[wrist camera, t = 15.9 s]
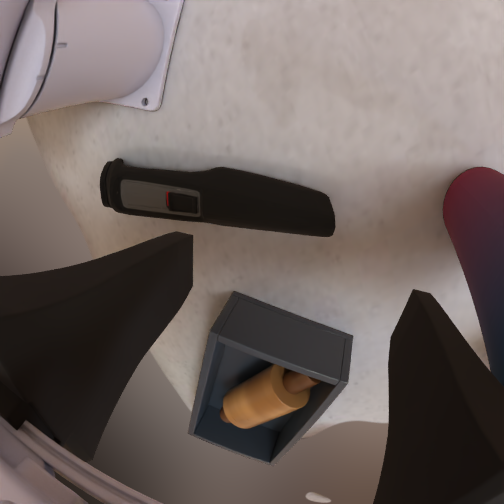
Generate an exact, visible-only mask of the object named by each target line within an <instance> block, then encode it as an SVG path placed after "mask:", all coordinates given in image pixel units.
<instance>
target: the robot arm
mask: <svg viewBox="0 0 504 504" xmlns="http://www.w3.org/2000/svg"><path fill="white" fill-rule="evenodd" d="M183 2H184V0H168V1H167V0H0V138H1V137H4V136H7V135H10V134H11V133H12V130H13V126H14V124H15V122H16V121H17V120H18V119H21V118H24V117H28V116H32V115H36V114H40V113H44V112H48V111H52V110H56V109H60V108H65V107H70V106H74V105H79V104H84V103H90V102H95V101H100V102H106V103H112V104H117V105H123V106H128V107H133V108H139V109H144V110H148V111H155V110H157V109H159V108H160V105H161V101H162V95H163V90H164V85H165V79H166V74H167V69H168V65H169V60H170V55H171V51H172V46H173V42H174V38H175V33H176V29H177V25H178V21H179V17H180V13H181V9H182V6H183ZM146 99H147V100H148V105H146V104H145V100H146ZM192 287H193V235H190V234H185V233H181V232H177V231H176V232H172V233H169V234H165V235H162V236H159V237H157V238H154V239H151V240H148V241H146V242H143V243H140V244H138V245H135V246H132V247H130V248H127V249H124V250H121V251H118V252H115V253H112V254H110V255H107V256H104V257H101V258H98V259H95V260H91V261H88V262H85V263H81V264H77V265H73V266H69V267H65V268H60V269H54V270H50V271H44V272H38V273H31V274H23V275H12V276H0V504H88V503H87V502H85V501H84V500H83V499H82V498H81V497H79V496H78V495H77V494H76V493H75V492H73V491H72V490H70V489H69V488H68V487H66V486H65V485H63V484H62V483H61V482H59V481H58V480H56V479H55V473H54V471H56V472H57V473H58V474H60V475H61V476H63V477H64V478H65V479H67V480H68V481H70V482H71V483H73V484H74V485H76V486H77V487H79V488H80V489H82V490H84V491H85V492H86V493H88V494H90V495H91V496H93V497H95V498H96V499H98V500H100V501H101V502H103V503H105V504H163V503H160V502H158V501H156V500H154V499H152V498H149V497H147V496H145V495H143V494H141V493H139V492H137V491H135V490H133V489H131V488H129V487H127V486H125V485H123V484H122V483H120V482H118V481H116V480H114V479H112V478H111V477H109V476H107V475H105V474H104V473H102V472H100V471H98V470H97V469H95V468H94V467H92V466H90V465H89V464H87V463H85V462H87V461H91V460H93V457H94V454H95V451H96V449H97V446H98V444H99V441H100V439H101V436H102V434H103V432H104V429H105V427H106V425H107V423H108V420H109V418H110V416H111V414H112V412H113V410H114V408H115V406H116V404H117V402H118V400H119V398H120V396H121V394H122V392H123V390H124V388H125V387H126V385H127V383H128V381H129V379H130V378H131V376H132V374H133V373H134V371H135V369H136V368H137V366H138V364H139V363H140V361H141V360H142V358H143V357H144V355H145V354H146V353H147V351H148V350H149V349H150V347H151V346H152V345H153V343H154V342H155V341H156V340H157V338H158V337H159V336H160V334H161V333H162V332H163V331H164V329H165V328H166V327H167V325H168V324H169V323H170V321H171V320H172V319H173V317H174V316H175V315H176V314H177V312H178V311H179V309H180V308H181V306H182V305H183V303H184V301H185V299H186V298H187V296H188V294H189V292H190V290H191V288H192ZM388 374H389V427H388V438H387V444H386V451H385V456H384V462H383V467H382V471H381V476H380V480H379V484H378V489H377V492H376V496H375V499H374V502H373V504H504V386H503V385H502V384H501V383H500V382H499V381H498V380H497V378H496V377H495V376H494V375H493V374H492V373H491V372H490V371H489V369H488V368H487V367H486V366H485V365H484V363H483V362H482V361H481V360H480V358H479V357H478V356H477V354H476V353H475V352H474V350H473V349H472V348H471V347H470V345H469V344H468V343H467V341H466V340H465V339H464V337H463V336H462V334H461V333H460V332H459V330H458V329H457V328H456V326H455V325H454V323H453V322H452V321H451V319H450V318H449V317H448V315H447V314H446V312H445V311H444V310H443V308H442V307H441V306H440V304H439V303H438V302H437V301H436V299H435V298H434V297H433V296H432V295H431V294H430V293H427V292H423V291H419V290H415V289H413V290H412V293H411V295H410V297H409V299H408V302H407V304H406V306H405V308H404V310H403V313H402V315H401V317H400V319H399V321H398V323H397V325H396V327H395V329H394V331H393V333H392V335H391V340H390V350H389V362H388ZM53 470H54V471H53Z"/></svg>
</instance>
